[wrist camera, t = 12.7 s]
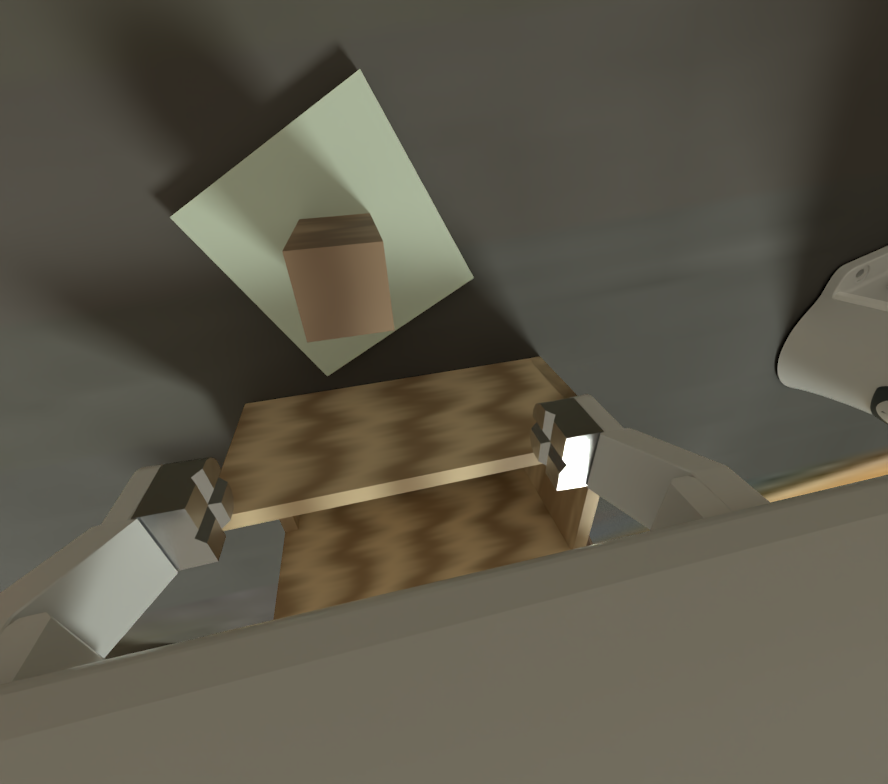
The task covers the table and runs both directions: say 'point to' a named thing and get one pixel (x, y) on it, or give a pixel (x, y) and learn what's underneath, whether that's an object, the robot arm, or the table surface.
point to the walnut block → (339, 277)
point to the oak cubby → (403, 482)
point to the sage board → (327, 215)
